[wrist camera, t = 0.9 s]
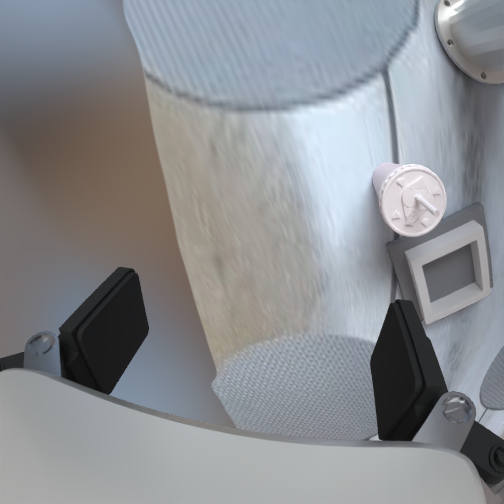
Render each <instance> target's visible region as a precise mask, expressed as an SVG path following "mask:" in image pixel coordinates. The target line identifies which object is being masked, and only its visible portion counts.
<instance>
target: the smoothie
mask: <svg viewBox="0 0 504 504" xmlns="http://www.w3.org/2000/svg"><path fill="white" fill-rule="evenodd" d="M372 181H373V185H374V187H375V190H376V192H377V195H378V198H379V201H378V202H379V209H380V213H381V215H382V217H383V220H384V221H385V222H386V223H387V225H388V226H389V227H390V228H391V229H392V230H393V231H395V232H396V233H398V234H400V235H402V236H406V237H418V236H422V235H425V234H427V233H428V232H430V231H431V230H433V229H434V228H435V227H436V226H437V225H438V224H439V222H440V221H441V219H442V217H443V215H444V212H445V209H446V202H447V197H446V191H445V188H444V185H443V183H442V181H441V180H440V178H439V177H438V176H437V175H436V174H435V173H434V172H432V171H431V170H430V169H428V168H426V167H424V166H422V165H416V164H409V165H399V164H394V163H382V164H380V165H379V166H378V167H377V168H376V169H375V170H374V172H373V176H372Z"/></svg>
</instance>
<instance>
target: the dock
mask: <svg viewBox="0 0 504 504" xmlns="http://www.w3.org/2000/svg"><path fill="white" fill-rule="evenodd" d="M386 246H387V249H388V251H389V254H390V257H391V260H392V263H393V266H394V269H395V273H396V276H397V279H398V282H399V285H400V289H401V292H402V295H403V299H404V300H411V301H412V302H413V304H414V306H415V309H416V311H417V313H418V316H419V318H420V321H423V320H424V321H425V323H426V325H428V324H430V323H432V322H435V321H437V320H439V319H441V318H444V317H446V316H448V315H450V314H452V313H454V312H456V311H459V310H461V309H463V308H465V307H467V306H469V305H471V304H473V303H475V302H477V301H479V300H481V299H483V298H484V297H486V296H488V295H490V288H492V287H493V279H492V267H491V257H490V249H489V241H488V234H487V228H486V222H485V216H484V211H483V205H481V204H480V203H476V204H473V205H471V206H469V207H467V208H465V209H463V210H461V211H459V212H457V213H454V214H452V215H450V216H448V217H446V218H444V219H441V221H440V222H439V224H438V225H437V226H436V227H435V228H434V229H433V230H431V231H430V232H428V233H427V234H425V235H422V236H418V237H406V236H404V237H401V238H399V239H397V240H394V241H392V242H390V243H387V244H386Z"/></svg>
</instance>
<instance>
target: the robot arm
mask: <svg viewBox="0 0 504 504" xmlns="http://www.w3.org/2000/svg"><path fill="white" fill-rule="evenodd" d="M435 26H436V31H437V34H438V37H439V39H440V42H441V44H442V46H443V48H444V49H445V51H446V52H447V54H448V56H449V57H450V58H451V60H452V61H453V62H454V63H455V65H457V66H458V67H459V68H460V69H461V70H462V71H463V72H464V73H465V74H467V75H468V76H469V77H471V78H473V79H475V80H476V81H478V82H482V83H485V84H501V83H504V0H439V1H438V3H437V5H436V9H435ZM448 44H449V45H448ZM59 330H60V335H59V336H57V335H56V334H55V333H53V332H51V331H43V332H39V333H37V334H35V335H33V336H32V337H31V338H30V339H29V340H28V341H27V343H26V345H25V351H24V352H22V353H18V354H15V355H11V356H7V357H4V358H0V504H504V440H503V439H502V438H500V437H499V436H497V435H496V434H494V433H493V432H491V431H490V430H488V429H487V428H485V427H484V426H482V425H481V424H479V423H478V422H476V421H475V417H476V408H475V406H474V403H473V402H472V401H471V399H470V398H469V397H467V396H466V395H465V394H462V393H460V392H455V391H452V392H448V390H447V387H446V384H445V380H444V377H443V374H442V371H441V368H440V366H439V363H438V360H437V357H436V354H435V352H434V349H433V346H432V343H431V341H430V339H429V338H428V337H427V336H426V334H425V331H424V328H423V326H422V323H421V321H420V318H419V316H418V313H417V311H416V309H415V306H414V304H413V302H412V301H411V300H401V299H397V300H396V301H395V303H391V304H390V306H389V308H388V311H387V314H386V317H385V320H384V323H383V326H382V329H381V332H380V335H379V337H378V340H377V343H376V346H375V348H374V351H373V353H372V356H371V361H370V367H371V374H372V381H373V389H374V397H375V406H376V415H377V426H378V436H379V439H380V440H383V441H359V440H335V439H317V438H304V437H293V436H284V435H275V434H268V433H261V432H254V431H247V430H241V429H235V428H229V427H224V426H219V425H214V424H209V423H205V422H200V421H196V420H192V419H187V418H183V417H179V416H175V415H172V414H168V413H164V412H161V411H157V410H153V409H150V408H146V407H143V406H140V405H137V404H134V403H130V402H127V401H124V400H121V399H118V398H116V397H113V396H110V395H109V394H110V393H111V392H112V390H113V389H114V387H115V386H116V384H117V382H118V381H119V379H120V377H121V376H122V374H123V373H124V371H125V369H126V368H127V366H128V365H129V363H130V362H131V360H132V358H133V357H134V355H135V353H136V352H137V350H138V349H139V347H140V346H141V344H142V343H143V341H144V339H145V338H146V336H147V335H148V330H149V325H148V321H147V316H146V312H145V307H144V302H143V297H142V292H141V286H140V281H139V276H138V274H137V273H135V271H134V269H131V268H124V267H119V268H117V269H116V270H115V272H113V273H112V274H111V275H110V276H109V277H108V278H107V279H106V280H105V281H104V282H103V283H102V284H101V285H100V286H99V287H98V288H97V289H96V290H95V291H94V292H93V293H92V294H91V295H90V296H89V297H88V298H87V299H86V300H85V301H84V302H83V303H82V305H81V306H80V307H79V308H78V309H77V310H76V311H75V312H74V313H73V314H72V315H71V316H70V317H69V318H68V320H66V321H65V323H64V324H63V325H62V326H61V327H60V328H59Z"/></svg>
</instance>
